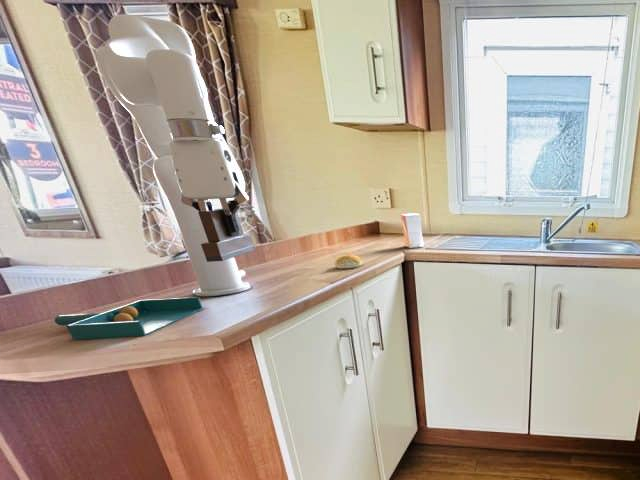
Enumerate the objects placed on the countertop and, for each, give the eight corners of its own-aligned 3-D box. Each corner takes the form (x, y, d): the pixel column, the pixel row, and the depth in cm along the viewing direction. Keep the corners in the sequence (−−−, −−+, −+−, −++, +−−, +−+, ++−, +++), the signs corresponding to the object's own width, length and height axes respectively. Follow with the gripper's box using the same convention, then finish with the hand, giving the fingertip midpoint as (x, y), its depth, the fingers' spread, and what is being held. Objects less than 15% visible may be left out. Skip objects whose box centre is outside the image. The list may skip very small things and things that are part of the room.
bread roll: (363, 263, 144) (360, 251, 143) (360, 268, 137) (358, 255, 135) (337, 265, 143) (335, 253, 141) (333, 269, 135) (331, 257, 133)
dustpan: (202, 308, 94) (198, 296, 93) (144, 335, 77) (138, 321, 76) (97, 314, 93) (91, 302, 92) (14, 343, 76) (6, 329, 75)
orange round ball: (133, 302, 87) (144, 313, 89) (123, 306, 88) (134, 317, 89) (123, 307, 85) (135, 319, 86) (113, 312, 85) (124, 323, 87)
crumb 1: (140, 324, 83) (127, 325, 84) (133, 310, 82) (119, 311, 82) (128, 329, 81) (114, 330, 81) (120, 315, 80) (107, 316, 80)
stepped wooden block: (241, 250, 95) (228, 207, 91) (255, 249, 95) (242, 206, 91) (206, 261, 82) (189, 212, 78) (222, 261, 83) (206, 211, 79)
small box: (404, 246, 184) (400, 214, 178) (419, 244, 187) (415, 213, 181) (409, 248, 178) (405, 215, 172) (424, 246, 180) (420, 214, 174)
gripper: (248, 134, 83) (274, 232, 91) (163, 137, 82) (197, 236, 90) (228, 129, 76) (258, 236, 84) (136, 132, 75) (175, 240, 83)
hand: (226, 235), depth 87 cm, fingers closed on stepped wooden block, 2 cm apart
